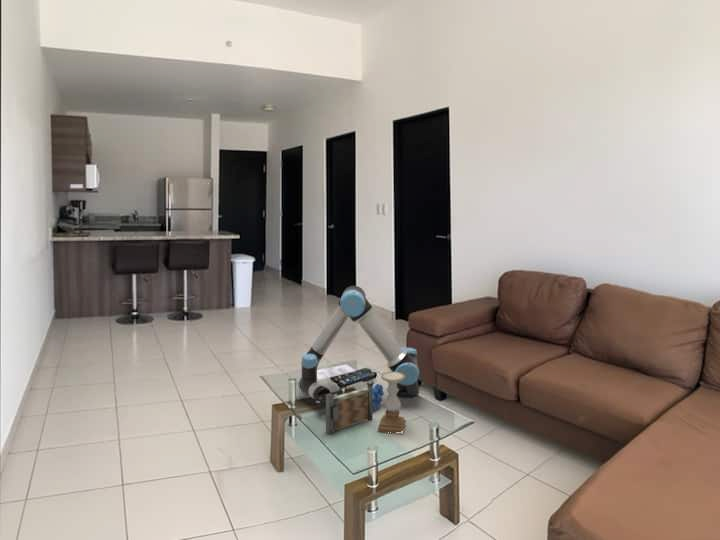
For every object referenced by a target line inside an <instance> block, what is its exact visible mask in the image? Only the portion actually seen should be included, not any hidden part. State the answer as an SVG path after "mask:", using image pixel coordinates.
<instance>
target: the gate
mask: <svg viewBox="0 0 720 540" xmlns="http://www.w3.org/2000/svg"><path fill="white" fill-rule="evenodd" d="M368 392H369V389H367V388H366V387H364V388H360V389H356V390H352V391H350V392H345V393H343V394H340V395H339V396H335V397H334V406H339V420H337V421H334V432H335V431H338V430H339V429H342V428H344V427H347V426H351V425H353V424H357V423H360V422H363V421H366V420H367V419H368ZM367 421H368V420H367Z"/></svg>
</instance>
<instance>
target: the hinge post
mask: <svg viewBox="0 0 720 540" xmlns="http://www.w3.org/2000/svg"><path fill="white" fill-rule="evenodd" d="M374 384H375V382H374V380H367V381H366V385H367V386H366V387H367V389H369V392H368V419H367V421H370V422H371V421H373V414H374V413H373V412H374V411H373V388H374Z"/></svg>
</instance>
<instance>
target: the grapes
mask: <svg viewBox="0 0 720 540" xmlns="http://www.w3.org/2000/svg"><path fill="white" fill-rule="evenodd" d="M384 394H385V393H384V387H383V385H382V384H379V383H377V384H375V386H374V387H373V412H374V411H376V410H378V409H379V408H380V407H381V405H380V404H381V403H382V402H383V398H382V396H384Z"/></svg>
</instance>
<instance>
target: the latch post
mask: <svg viewBox="0 0 720 540" xmlns="http://www.w3.org/2000/svg"><path fill="white" fill-rule="evenodd" d="M331 393H332V392H331ZM331 393H330V394H327V395H326V407H325V433H326V434H328V435H331V434H332V435H333V434H335V433H334V432H335V431H334V421H337V420H339V406H334V395H335V394H334V395H332V394H331Z"/></svg>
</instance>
